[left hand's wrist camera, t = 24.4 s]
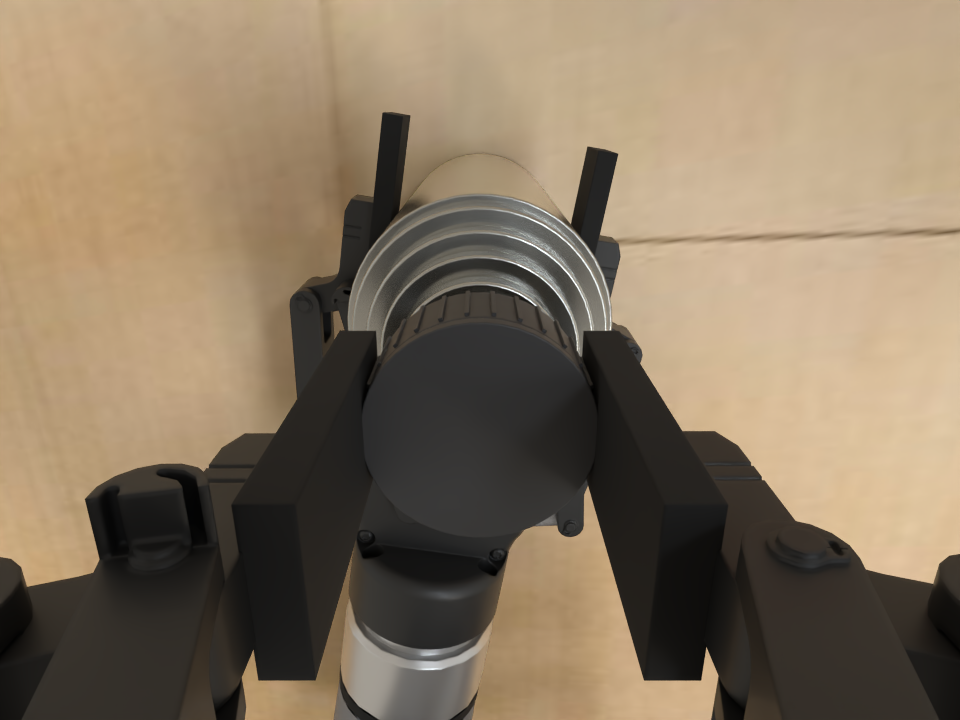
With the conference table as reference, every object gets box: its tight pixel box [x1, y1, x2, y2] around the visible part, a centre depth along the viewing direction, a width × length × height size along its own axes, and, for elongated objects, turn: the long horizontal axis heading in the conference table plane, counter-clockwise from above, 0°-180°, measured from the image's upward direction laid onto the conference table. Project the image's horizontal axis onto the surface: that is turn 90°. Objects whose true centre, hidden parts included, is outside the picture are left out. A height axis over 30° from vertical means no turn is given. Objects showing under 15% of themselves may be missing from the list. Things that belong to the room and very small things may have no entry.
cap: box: [362, 291, 598, 537], centre depth 13 cm, size 5×5×2 cm
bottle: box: [348, 154, 612, 357], centre depth 23 cm, size 7×7×22 cm
